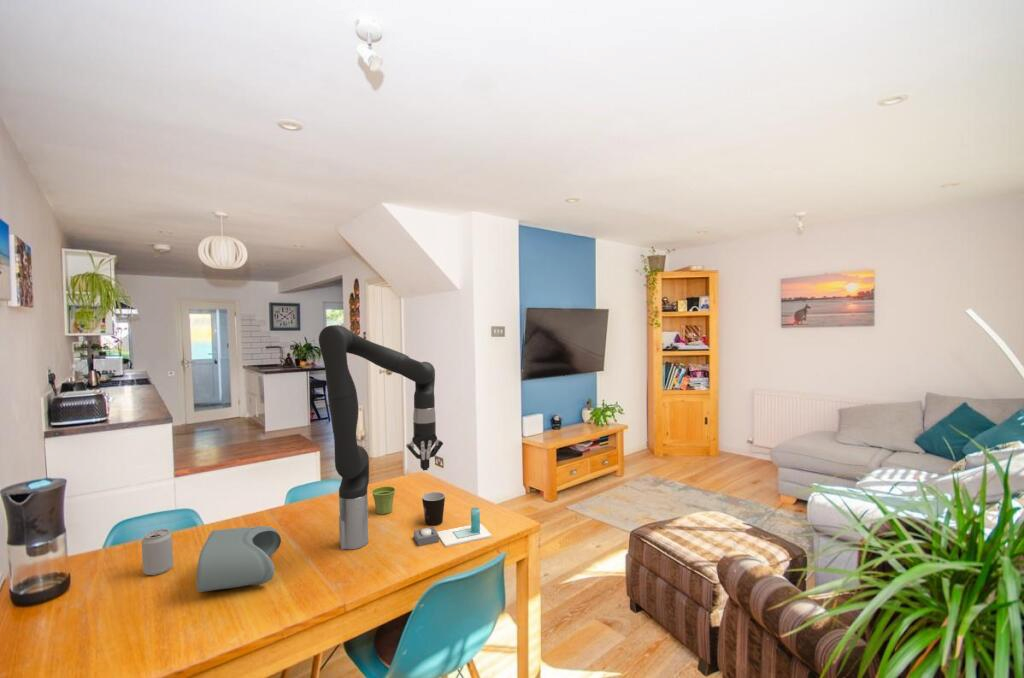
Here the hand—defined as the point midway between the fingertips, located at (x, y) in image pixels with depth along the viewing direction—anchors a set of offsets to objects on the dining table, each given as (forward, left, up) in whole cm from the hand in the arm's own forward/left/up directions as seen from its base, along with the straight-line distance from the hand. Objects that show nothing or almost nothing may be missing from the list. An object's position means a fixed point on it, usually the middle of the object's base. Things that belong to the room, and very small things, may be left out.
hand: (425, 469), depth 165 cm
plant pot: (-9, +31, -25) cm, 41 cm away
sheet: (+13, -3, -25) cm, 28 cm away
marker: (+17, -3, -24) cm, 30 cm away
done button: (0, 0, -25) cm, 25 cm away
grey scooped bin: (-56, +1, -25) cm, 61 cm away
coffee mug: (+7, +14, -25) cm, 30 cm away
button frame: (0, 0, -25) cm, 25 cm away
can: (-80, +16, -25) cm, 85 cm away
